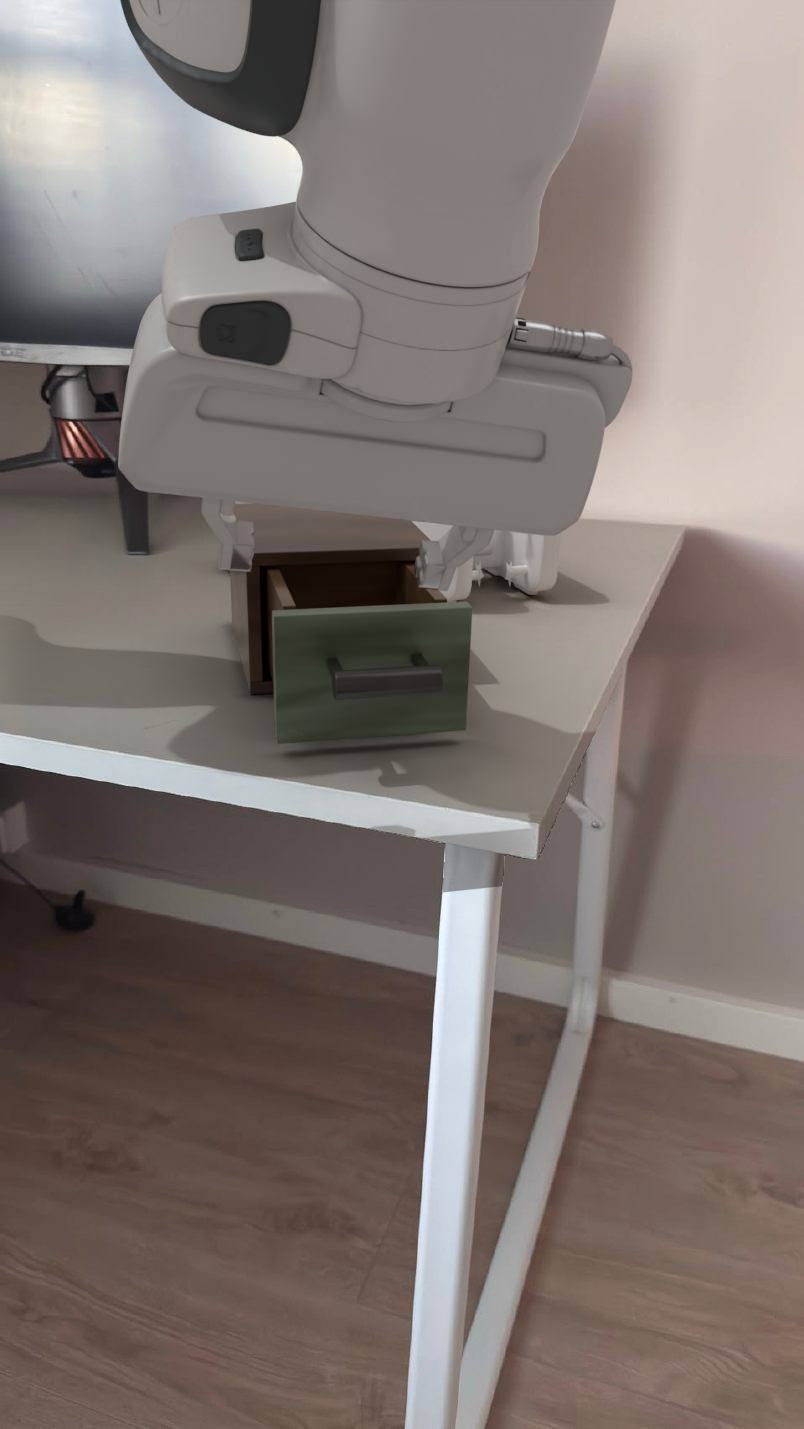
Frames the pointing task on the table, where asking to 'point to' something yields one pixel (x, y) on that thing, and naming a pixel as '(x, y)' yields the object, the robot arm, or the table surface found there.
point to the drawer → (363, 652)
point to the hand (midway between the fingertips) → (334, 572)
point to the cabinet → (304, 563)
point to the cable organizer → (504, 561)
